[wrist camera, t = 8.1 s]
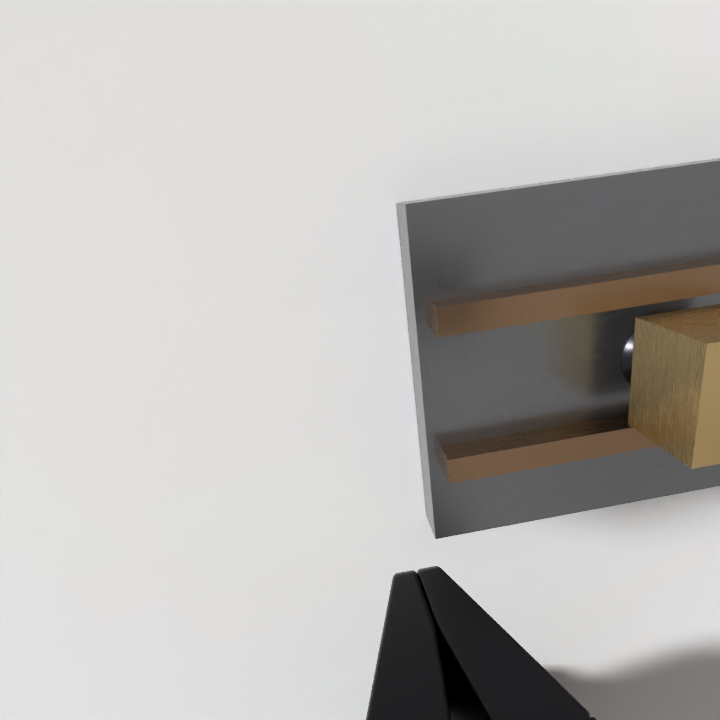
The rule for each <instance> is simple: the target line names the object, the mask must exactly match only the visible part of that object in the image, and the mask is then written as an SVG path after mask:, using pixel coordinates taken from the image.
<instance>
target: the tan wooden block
mask: <svg viewBox="0 0 720 720" xmlns="http://www.w3.org/2000/svg"><path fill="white" fill-rule="evenodd" d="M628 425H630V426H631V427H632V428H634V429H635V430H637V431H638V432H640V433H641V434H642V435H644V436H645V437H647V438H648V439H649V440H651V441H652V442H654V443H655V444H657V445H658V446H659V447H661V448H662V449H664V450H665V451H666V452H668V453H669V454H671V455H672V456H674V457H675V458H676V459H678V460H679V461H681V462H682V463H683V464H685V465H686V466H688V467H689V468H691V469H695V468H700V467H706V466H711V465H716V464H720V304H715V305H709V306H702V307H696V308H690V309H684V310H678V311H671V312H665V313H659V314H653V315H646V316H640V317H635V330H634V345H633V359H632V373H631V388H630V402H629V416H628Z"/></svg>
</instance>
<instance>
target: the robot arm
mask: <svg viewBox="0 0 720 720" xmlns="http://www.w3.org/2000/svg"><path fill="white" fill-rule="evenodd" d="M366 720H597V719H596V718H595V717H591V718H590V713H589V712H588V711H587V710H586V709H585V708H584V707H583V706H582V705H581V704H580V703H579V702H578V701H577V700H576V699H575V698H574V697H573V696H572V695H571V694H570V693H569V692H568V691H567V690H566V689H565V688H564V687H563V686H562V685H561V684H560V683H559V682H558V681H556V680H555V679H554V678H553V677H552V676H551V675H550V674H549V673H548V672H547V671H546V670H545V669H544V668H543V667H542V666H541V665H540V664H539V663H538V662H537V661H536V660H535V659H534V658H533V657H532V656H531V655H530V654H529V653H528V652H527V651H526V650H525V649H524V648H522V647H521V646H520V645H519V644H518V643H517V642H516V641H515V640H514V639H513V638H512V637H511V636H510V635H509V634H508V633H507V632H506V631H505V630H504V629H503V628H502V627H501V626H500V625H499V624H498V623H497V622H496V621H495V620H494V619H493V618H492V617H491V616H490V615H489V614H487V613H486V612H485V611H484V610H483V609H482V608H481V607H480V606H479V605H478V604H477V603H476V602H475V601H474V600H473V599H472V598H471V597H470V596H469V595H468V594H467V593H466V592H465V591H464V590H463V589H462V588H461V587H460V586H459V585H458V584H457V583H456V582H455V581H453V580H452V579H451V578H450V577H449V576H448V575H447V574H446V573H445V572H444V571H443V570H442V569H441V568H440V567H437V566H434V567H429V568H423V569H419V570H418V571H417V573H416V572H415V571H407V572H401V573H396V574H395V575H394V576H393V580H392V585H391V591H390V596H389V601H388V606H387V612H386V617H385V622H384V628H383V633H382V638H381V644H380V649H379V654H378V659H377V665H376V670H375V675H374V681H373V686H372V691H371V696H370V702H369V707H368V712H367V718H366Z"/></svg>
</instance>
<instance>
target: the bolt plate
mask: <svg viewBox="0 0 720 720" xmlns="http://www.w3.org/2000/svg"><path fill="white" fill-rule="evenodd" d="M396 205H397V215H398V225H399V236H400V246H401V257H402V267H403V277H404V288H405V298H406V308H407V319H408V329H409V340H410V350H411V360H412V371H413V381H414V392H415V402H416V412H417V423H418V433H419V443H420V454H421V464H422V475H423V485H424V495H425V506H426V516H427V518H428V521H429V523H430V526H431V529H432V531H433V534H434V536H435V539H438V538H443V537H448V536H454V535H459V534H464V533H470V532H475V531H480V530H486V529H491V528H496V527H502V526H507V525H512V524H518V523H523V522H528V521H534V520H539V519H544V518H550V517H555V516H560V515H566V514H571V513H576V512H582V511H587V510H592V509H598V508H603V507H608V506H614V505H619V504H624V503H630V502H635V501H640V500H646V499H651V498H656V497H662V496H667V495H672V494H678V493H683V492H688V491H694V490H699V489H704V488H710V487H715V486H720V464H716V465H711V466H706V467H700V468H695V469H691V468H689V467H688V466H686V465H685V464H683V463H682V462H681V461H679V460H678V459H676V458H675V457H674V456H672V455H671V454H669V453H668V452H666V451H665V450H664V449H662V448H661V447H659V446H658V445H657V444H655V443H654V442H652V441H651V440H649V439H648V438H647V437H645V436H644V435H642V434H641V433H640V432H638V431H637V430H635V429H634V428H632V427H631V426H630V425H628V416H629V402H630V388H631V373H632V359H633V345H634V330H635V317H640V316H646V315H653V314H659V313H665V312H671V311H678V310H684V309H690V308H696V307H702V306H709V305H715V304H720V158H719V159H712V160H705V161H698V162H690V163H683V164H676V165H669V166H662V167H654V168H647V169H640V170H633V171H625V172H618V173H611V174H604V175H597V176H589V177H582V178H575V179H568V180H560V181H553V182H546V183H539V184H532V185H524V186H517V187H510V188H503V189H495V190H488V191H481V192H474V193H466V194H459V195H452V196H445V197H438V198H430V199H423V200H416V201H409V202H401V203H396Z"/></svg>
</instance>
